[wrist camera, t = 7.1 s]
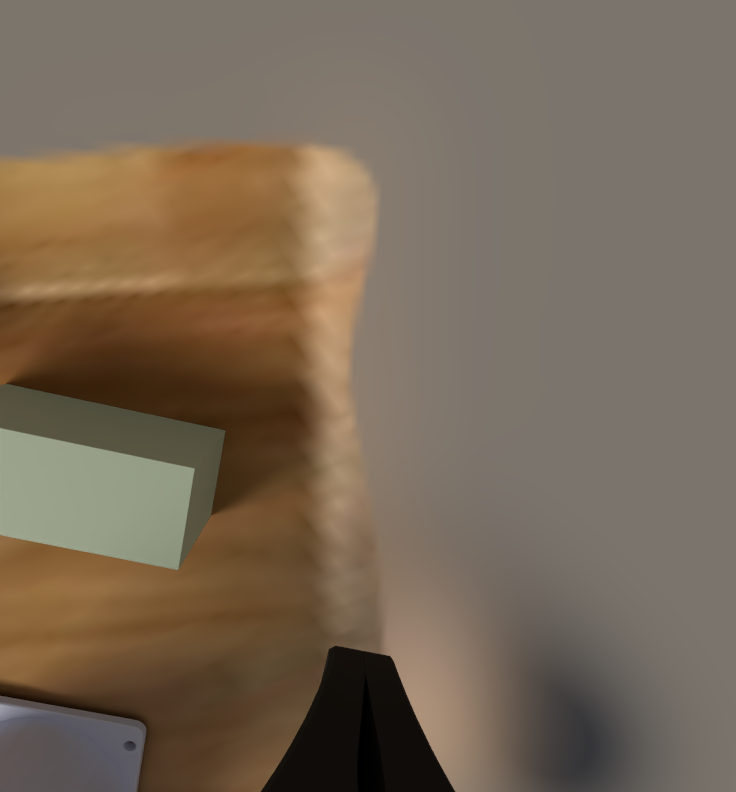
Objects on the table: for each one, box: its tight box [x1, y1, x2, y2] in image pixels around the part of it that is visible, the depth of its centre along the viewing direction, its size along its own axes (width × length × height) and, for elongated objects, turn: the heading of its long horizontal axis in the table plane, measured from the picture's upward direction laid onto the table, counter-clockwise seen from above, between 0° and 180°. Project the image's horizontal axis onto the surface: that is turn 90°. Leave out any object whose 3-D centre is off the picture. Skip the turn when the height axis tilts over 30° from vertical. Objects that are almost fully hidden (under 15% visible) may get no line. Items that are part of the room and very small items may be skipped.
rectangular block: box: [0, 384, 226, 570], centre depth 19 cm, size 8×4×4 cm, turn 77°
